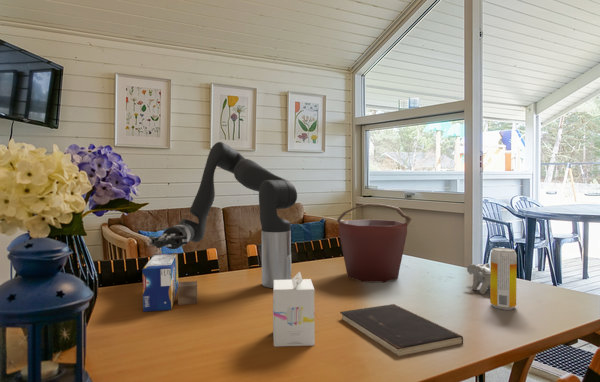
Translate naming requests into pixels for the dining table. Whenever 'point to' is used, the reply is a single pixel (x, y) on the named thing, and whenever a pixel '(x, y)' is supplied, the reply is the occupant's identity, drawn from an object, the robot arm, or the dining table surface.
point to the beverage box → (160, 282)
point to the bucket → (373, 246)
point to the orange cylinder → (503, 278)
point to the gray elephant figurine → (480, 276)
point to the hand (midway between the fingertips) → (158, 244)
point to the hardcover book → (400, 329)
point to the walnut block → (187, 292)
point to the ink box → (293, 312)
